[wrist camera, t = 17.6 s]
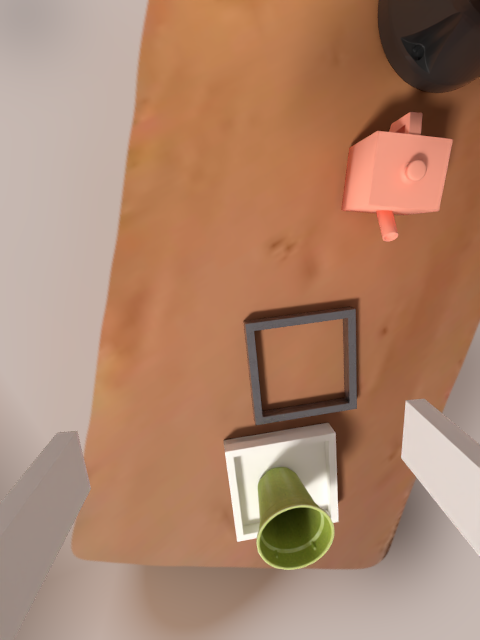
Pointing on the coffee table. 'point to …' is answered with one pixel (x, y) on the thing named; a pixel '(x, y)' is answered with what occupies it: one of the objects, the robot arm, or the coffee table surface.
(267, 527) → the plant pot
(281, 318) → the grey square frame
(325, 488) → the tray
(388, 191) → the pink cube teapot
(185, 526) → the coffee table surface
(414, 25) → the robot arm
